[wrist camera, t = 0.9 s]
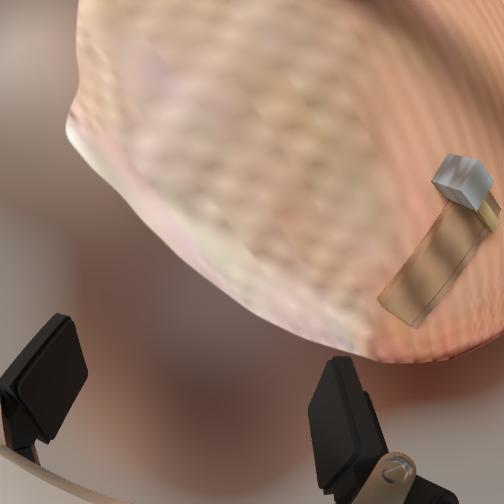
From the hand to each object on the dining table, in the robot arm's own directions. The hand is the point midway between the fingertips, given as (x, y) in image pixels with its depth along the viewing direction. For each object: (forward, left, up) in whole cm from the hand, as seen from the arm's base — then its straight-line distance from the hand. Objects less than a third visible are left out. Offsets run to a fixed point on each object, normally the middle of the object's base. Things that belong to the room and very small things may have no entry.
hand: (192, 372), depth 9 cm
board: (-12, +28, -27) cm, 41 cm away
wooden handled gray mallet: (-20, +26, -27) cm, 42 cm away
